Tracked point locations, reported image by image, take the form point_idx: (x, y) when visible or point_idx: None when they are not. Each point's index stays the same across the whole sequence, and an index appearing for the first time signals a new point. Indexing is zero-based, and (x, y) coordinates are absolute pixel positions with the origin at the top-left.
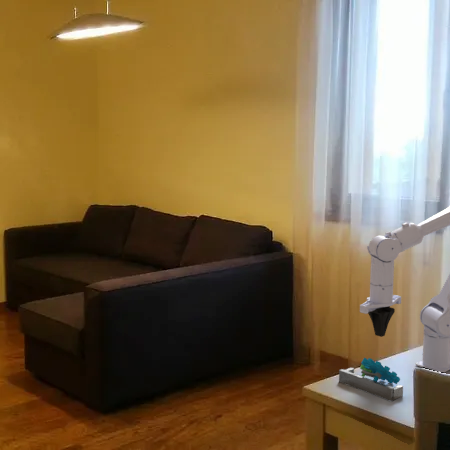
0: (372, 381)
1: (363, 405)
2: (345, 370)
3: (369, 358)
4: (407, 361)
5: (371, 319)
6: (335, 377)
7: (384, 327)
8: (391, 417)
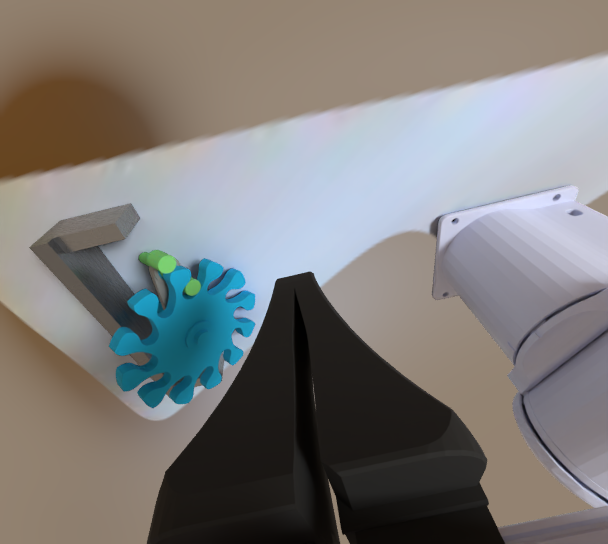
0: (136, 357)
1: (91, 364)
2: (61, 262)
3: (121, 384)
4: (460, 166)
5: (236, 381)
6: (55, 176)
7: (310, 376)
8: (136, 409)
